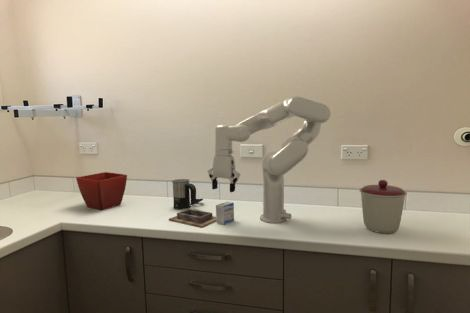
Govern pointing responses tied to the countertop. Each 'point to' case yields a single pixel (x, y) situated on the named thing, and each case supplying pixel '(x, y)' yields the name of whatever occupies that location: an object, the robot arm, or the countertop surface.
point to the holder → (194, 218)
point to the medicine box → (225, 213)
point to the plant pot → (102, 189)
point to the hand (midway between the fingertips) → (223, 190)
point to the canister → (382, 207)
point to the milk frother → (184, 194)
